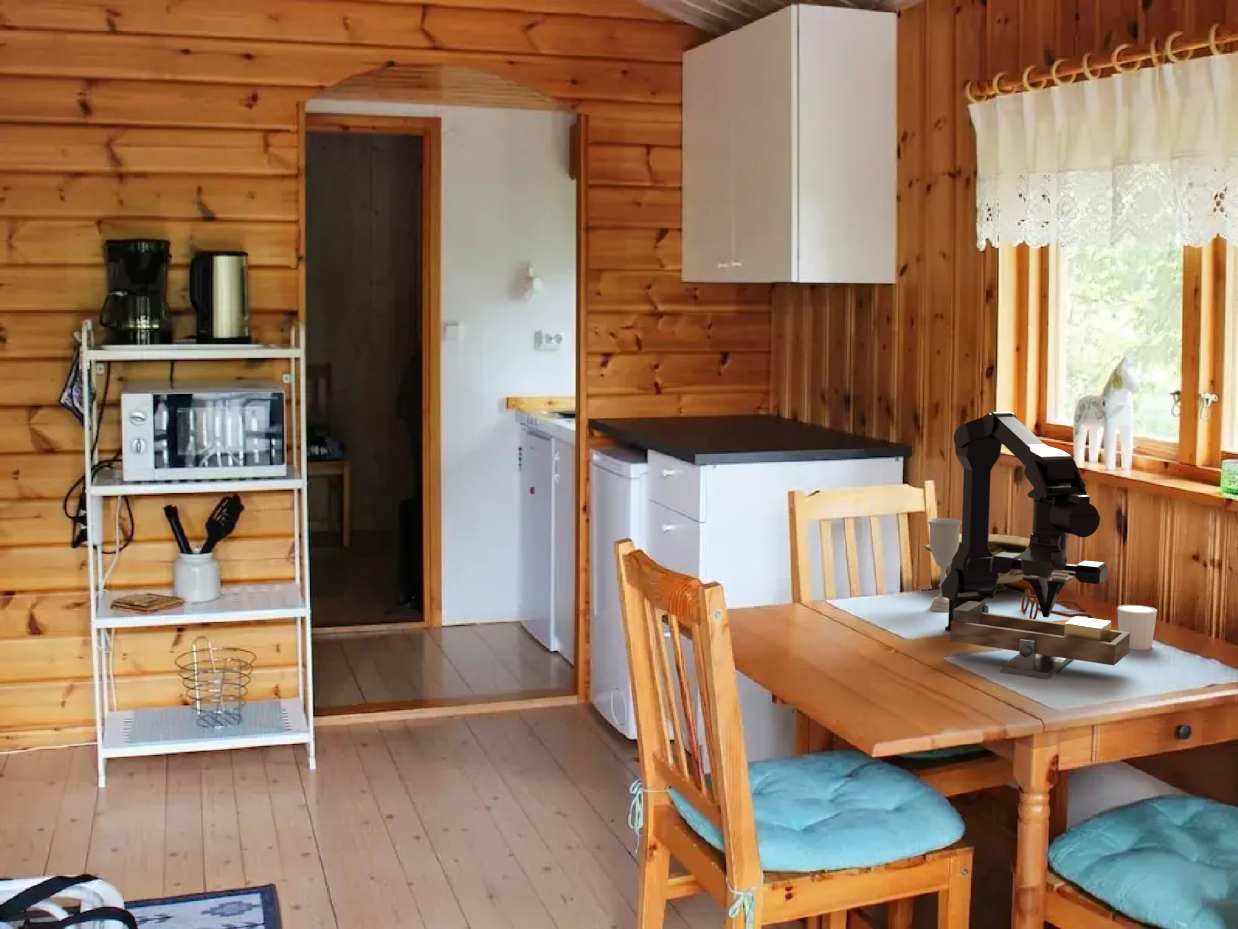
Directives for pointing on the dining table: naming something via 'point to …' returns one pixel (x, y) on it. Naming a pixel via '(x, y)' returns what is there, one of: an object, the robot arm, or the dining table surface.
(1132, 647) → the white cup
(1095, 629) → the brass block
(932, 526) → the chalice
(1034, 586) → the robot arm
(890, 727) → the dining table surface
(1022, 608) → the glasses
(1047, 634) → the beam
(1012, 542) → the ceramic bowl
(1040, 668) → the pivot stand
